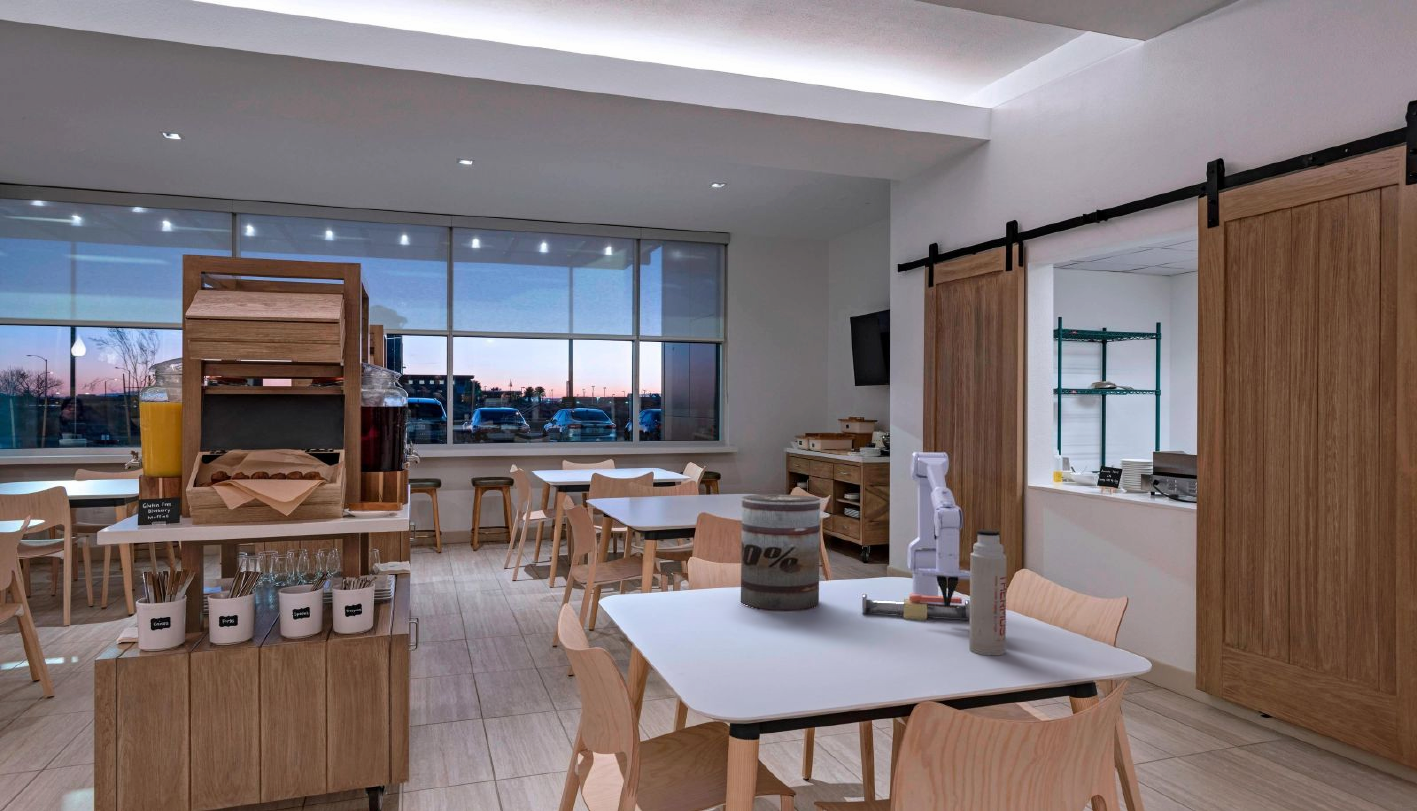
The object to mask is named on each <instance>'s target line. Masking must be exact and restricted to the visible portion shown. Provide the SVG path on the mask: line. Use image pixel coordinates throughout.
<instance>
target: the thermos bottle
mask: <svg viewBox="0 0 1417 811" xmlns="http://www.w3.org/2000/svg"><path fill="white" fill-rule="evenodd" d="M976 534H978V535H977V542H976V543H975V542H974V544H973V547H972V548H973V552H971V553H970V559H969V560H970V562H969V563H970V564H969V568H970V570H969V571H970V579H969V602H970V620H969V637H968V638H969V640H968V641H969V645H968V646H969V647H968V648H969V651H970V652H972V651H973V652H972V653H974V652H976V653H975V654H977V653H980V654H979V655H982V654H986V655H985V656H990V655H996V656H1002V655H1001V654H1003V655H1004V653H1005V654H1006V639H1007V638H1006V636H1007V635H1006V632H1007V630H1006V629H1007V628H1006V626H1007V625H1006V624H1007V617H1006V616H1007V613H1006V612H1007V555H1006V554H1004V551H1005V549H1004V545H1003V544H1001V543H1000V531H998V530H994V529H979V530H977V532H976Z"/></svg>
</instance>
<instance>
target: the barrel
mask: <svg viewBox="0 0 1417 811" xmlns="http://www.w3.org/2000/svg"><path fill="white" fill-rule="evenodd" d="M820 531H821V499H820V498H819V497H817V496H809V495H798V494H773V493H772V494H752V495H751V494H750V495H745V496H742V498H741V549H740V550H741V552H740V554H741V555H740V557H741V558H740V559H741V560H740V603H741V604H742V603H743V604H745V605H748V606H750V607H749V608H751V607H753V608H752V609H755V608H757V609H756V610H760V609H762V611H769V612H771V611H772V612H799V611H800V612H801V611H807V610H812V609H815V608H816V606H817V605H818V604H819V603H820V547H821V546H820V545H821V544H820V543H821V542H820V540H821V539H820V537H821V534H820V533H821V532H820ZM743 604H742V605H743ZM745 605H744V606H745ZM819 605H820V604H819ZM819 605H818V606H819ZM748 606H747V607H748ZM818 606H817V607H818ZM814 607H815V608H814Z"/></svg>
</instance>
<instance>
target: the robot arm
mask: <svg viewBox="0 0 1417 811" xmlns="http://www.w3.org/2000/svg"><path fill="white" fill-rule="evenodd" d="M949 460H950V459H949V456H948V454H947V453H946V451H945V452H921V451H920V452H917V451H913V453H911V455H910V479H911V480H912V481H915V482H916V486H917V537H916V538H915V539H914V540H912V541H911V542H910V543H909V544H908V546H907V555H906V561H907V562H906V563H907V568H908V569H909V571H911V572H912V594H919V595H923V596H939V588H940V591H941V596H942V597H943V599H944V603H943V604H944V606H947V607H950V605H951V603H950V602H951V598H952V597H953V595H954V593H955V590H956V588H957V586H958V584H959V579H960V580H970V570H963V569H960V568H959V567H960V531H961V530H962V529H963V528H962V527H963V521H964V520H963V511H962V509H961V507H959V506H958V505H956V501H955V498H954V495H953V491H952V490H951V489H950V488H948V487H947V485H946V478H945V476H946V475H947V473H948V471H949V467H950V464H949V463H950V461H949ZM935 536H936V538H935ZM927 603H933V604H941V603H938V602H927Z"/></svg>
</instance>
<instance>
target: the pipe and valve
mask: <svg viewBox="0 0 1417 811" xmlns="http://www.w3.org/2000/svg"><path fill="white" fill-rule="evenodd" d="M861 604H862V606H861V609H862V612H861V613H862V614H880V615H895V616H903V619H907V620H909V619H910V620H919V621H920V620H921V621H927V620H928V618H940V619H953V620H954V619H956V620H964V621H970V599H969V600H966V599H965V600H964V605H963V604H950V607H947V606H944V603H940V604H933V603H927V602H921V601H920V602H914V601H910V600H909V598H903V601H900V600H897V601H896V600H882V599H881V600H880V599H868V594H867V593H863V594H862V602H861Z"/></svg>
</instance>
